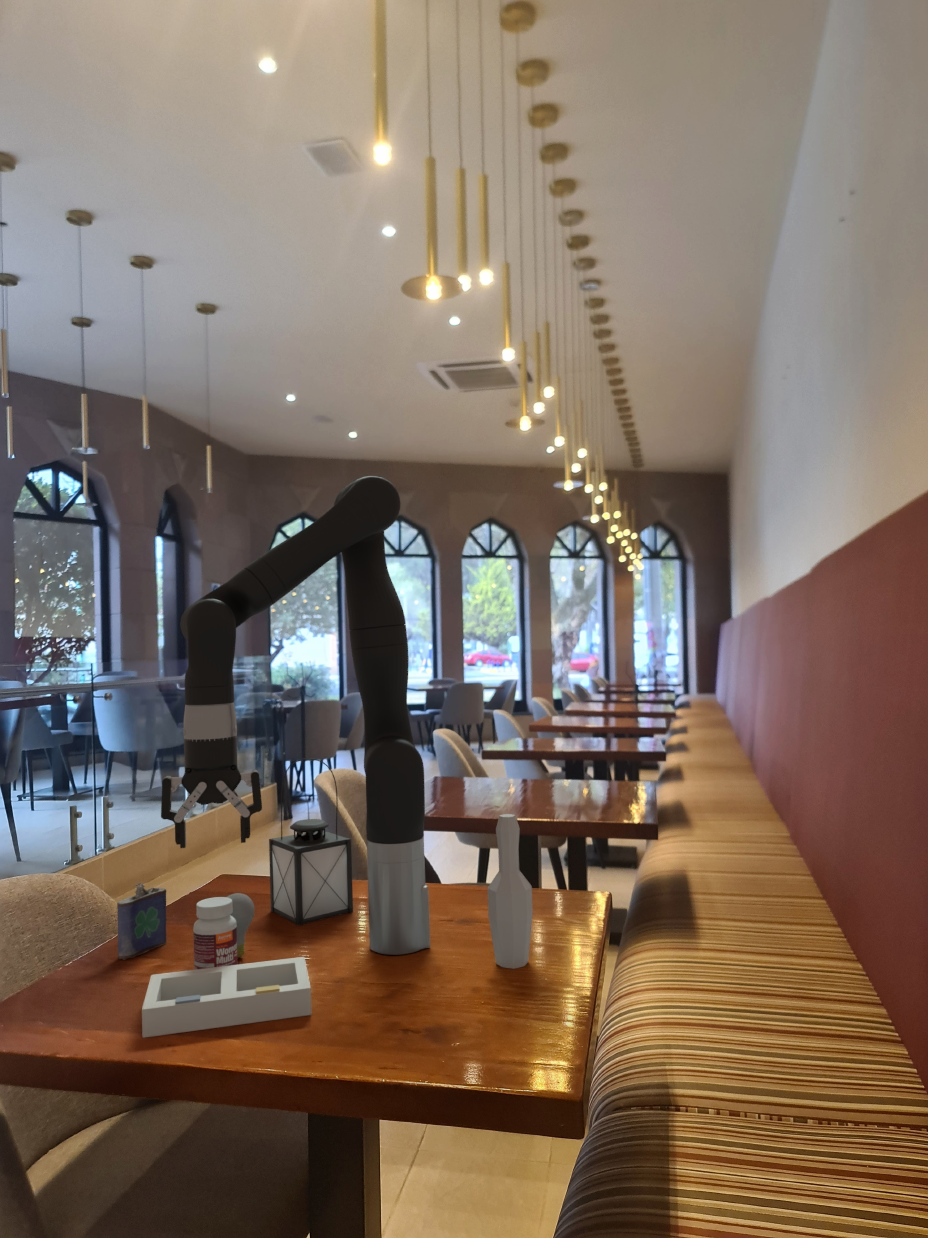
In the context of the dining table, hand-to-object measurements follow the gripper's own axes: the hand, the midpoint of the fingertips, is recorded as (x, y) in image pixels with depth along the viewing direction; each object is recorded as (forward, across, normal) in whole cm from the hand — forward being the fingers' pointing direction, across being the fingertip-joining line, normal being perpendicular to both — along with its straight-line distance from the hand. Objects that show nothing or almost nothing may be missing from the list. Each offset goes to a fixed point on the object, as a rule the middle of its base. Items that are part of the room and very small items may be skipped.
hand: (213, 844), depth 129 cm
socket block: (+20, -2, +11) cm, 23 cm away
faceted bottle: (+20, -43, +8) cm, 48 cm away
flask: (+20, +12, -17) cm, 29 cm away
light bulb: (+20, -3, -8) cm, 22 cm away
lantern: (+20, -16, -28) cm, 38 cm away
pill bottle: (+20, 0, 0) cm, 20 cm away
